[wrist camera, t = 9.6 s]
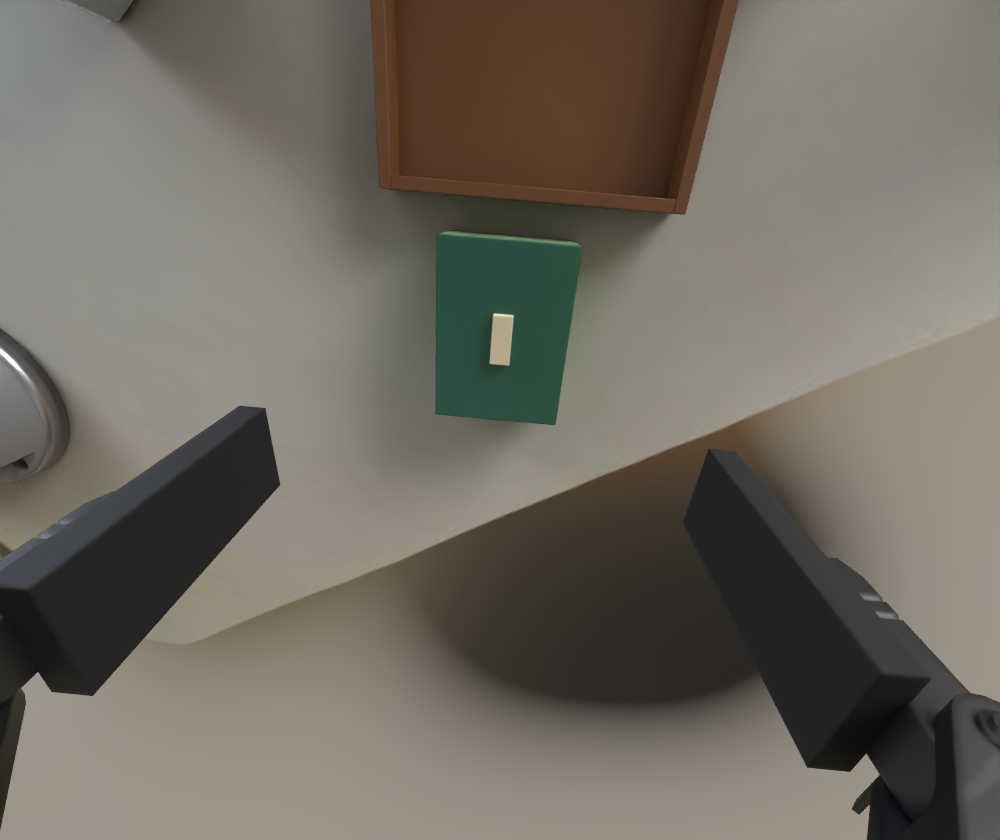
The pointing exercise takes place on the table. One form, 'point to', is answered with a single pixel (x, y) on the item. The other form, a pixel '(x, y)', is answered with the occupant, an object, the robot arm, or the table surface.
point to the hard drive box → (103, 8)
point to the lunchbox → (503, 324)
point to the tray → (547, 98)
